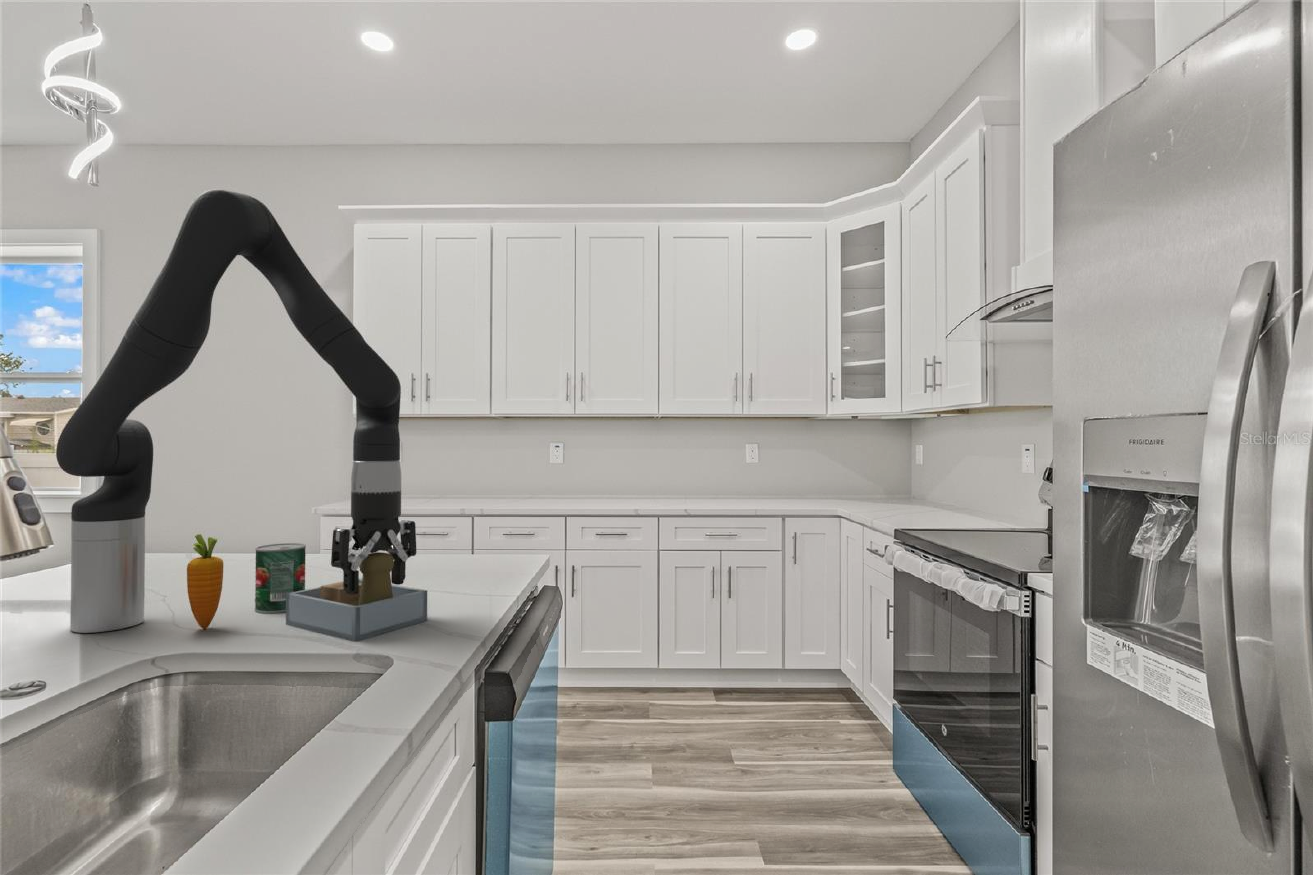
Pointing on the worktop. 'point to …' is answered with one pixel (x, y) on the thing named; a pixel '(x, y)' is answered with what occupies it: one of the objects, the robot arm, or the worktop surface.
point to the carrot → (204, 582)
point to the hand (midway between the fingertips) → (375, 588)
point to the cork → (376, 578)
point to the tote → (356, 613)
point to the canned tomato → (278, 575)
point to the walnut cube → (339, 594)
